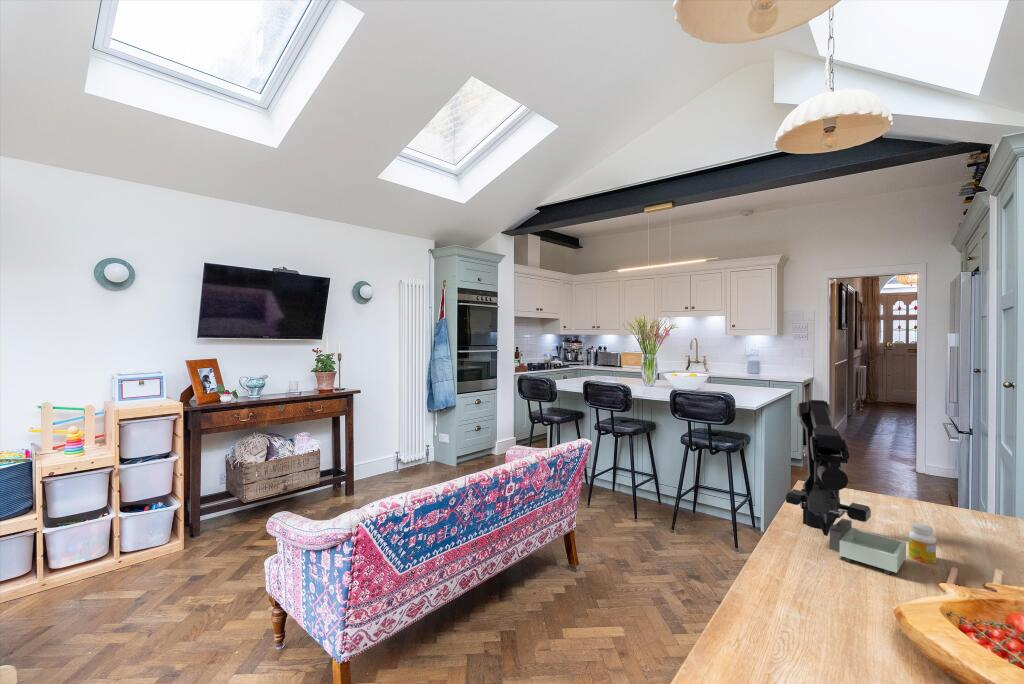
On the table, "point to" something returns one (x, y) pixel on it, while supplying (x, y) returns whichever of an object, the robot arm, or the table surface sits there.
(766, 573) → the table surface
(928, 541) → the supplement bottle
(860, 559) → the pale green bin
